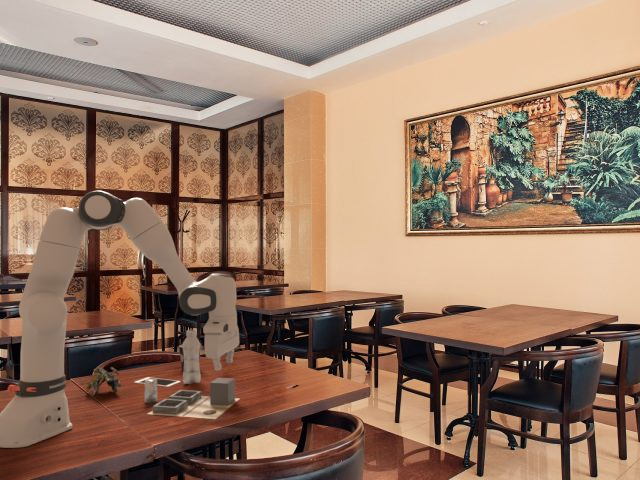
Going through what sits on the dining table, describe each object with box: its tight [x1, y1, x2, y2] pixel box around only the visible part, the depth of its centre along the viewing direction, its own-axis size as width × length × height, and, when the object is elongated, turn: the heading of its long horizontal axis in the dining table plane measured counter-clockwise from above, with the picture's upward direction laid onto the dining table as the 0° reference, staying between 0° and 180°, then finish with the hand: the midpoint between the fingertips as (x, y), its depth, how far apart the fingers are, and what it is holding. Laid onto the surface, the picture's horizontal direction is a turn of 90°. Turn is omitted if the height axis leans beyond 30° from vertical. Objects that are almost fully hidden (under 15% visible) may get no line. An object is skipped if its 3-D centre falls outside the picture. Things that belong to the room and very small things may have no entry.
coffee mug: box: [179, 344, 201, 372], centre depth 211 cm, size 12×9×10 cm
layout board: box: [147, 389, 241, 420], centre depth 160 cm, size 20×22×6 cm
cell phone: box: [133, 376, 181, 388], centre depth 194 cm, size 8×16×1 cm, turn 68°
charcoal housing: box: [209, 377, 236, 406], centre depth 164 cm, size 6×6×7 cm
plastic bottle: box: [181, 329, 202, 385], centre depth 191 cm, size 6×7×20 cm
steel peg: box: [144, 379, 158, 404], centre depth 170 cm, size 4×4×7 cm
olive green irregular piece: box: [80, 366, 122, 398], centre depth 178 cm, size 11×11×12 cm
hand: (223, 366), depth 164 cm, fingers open, 8 cm apart
